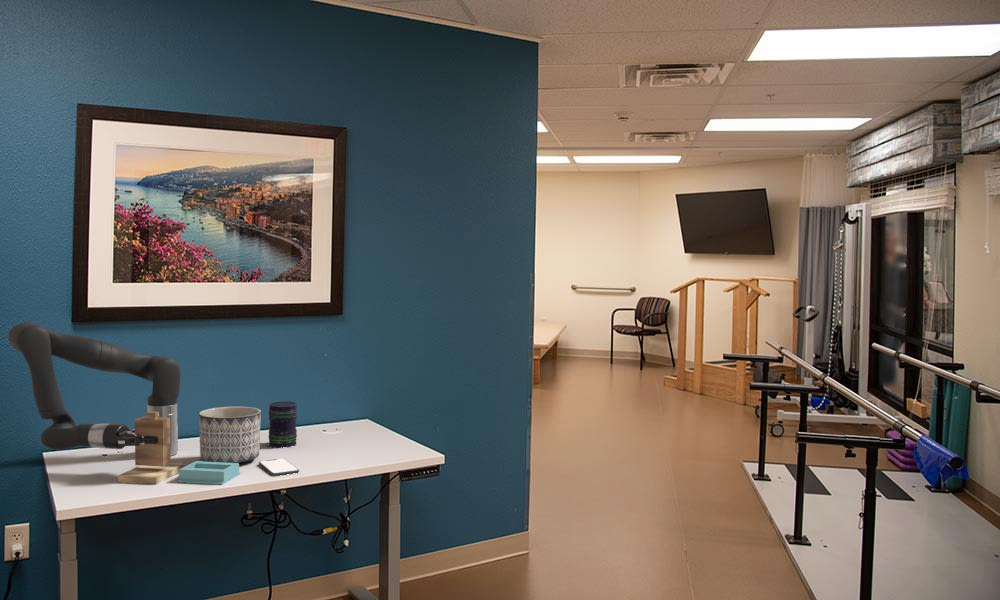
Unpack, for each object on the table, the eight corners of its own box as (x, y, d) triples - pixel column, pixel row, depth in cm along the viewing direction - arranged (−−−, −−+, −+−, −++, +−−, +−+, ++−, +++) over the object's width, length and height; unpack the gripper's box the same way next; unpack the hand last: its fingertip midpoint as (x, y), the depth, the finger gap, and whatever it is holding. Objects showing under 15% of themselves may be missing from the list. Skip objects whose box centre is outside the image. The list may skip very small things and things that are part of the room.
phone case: (300, 475, 242) (284, 462, 256) (300, 470, 242) (284, 457, 255) (272, 479, 237) (257, 466, 251) (272, 473, 237) (257, 461, 251)
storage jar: (280, 440, 285) (280, 400, 284) (302, 443, 281) (302, 402, 281) (262, 446, 276) (262, 404, 275) (285, 449, 272) (285, 407, 272)
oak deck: (148, 468, 244) (148, 461, 244) (184, 469, 243) (184, 463, 243) (117, 482, 228) (117, 475, 228) (156, 484, 227) (156, 477, 227)
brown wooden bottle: (142, 461, 238) (142, 410, 237) (170, 462, 237) (169, 411, 236) (135, 464, 234) (134, 413, 233) (163, 466, 233) (162, 414, 232)
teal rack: (197, 471, 241) (197, 460, 241) (240, 473, 240) (240, 462, 240) (177, 482, 229) (177, 470, 229) (222, 484, 228) (222, 472, 228)
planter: (187, 461, 253) (187, 412, 252) (238, 451, 268) (238, 404, 267) (220, 472, 241) (221, 420, 240) (272, 460, 256) (272, 411, 256)
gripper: (94, 429, 229) (148, 431, 227) (122, 419, 243) (173, 421, 242) (94, 453, 230) (148, 456, 228) (122, 442, 244) (173, 444, 242)
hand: (161, 438), depth 235 cm, fingers closed on brown wooden bottle, 4 cm apart
